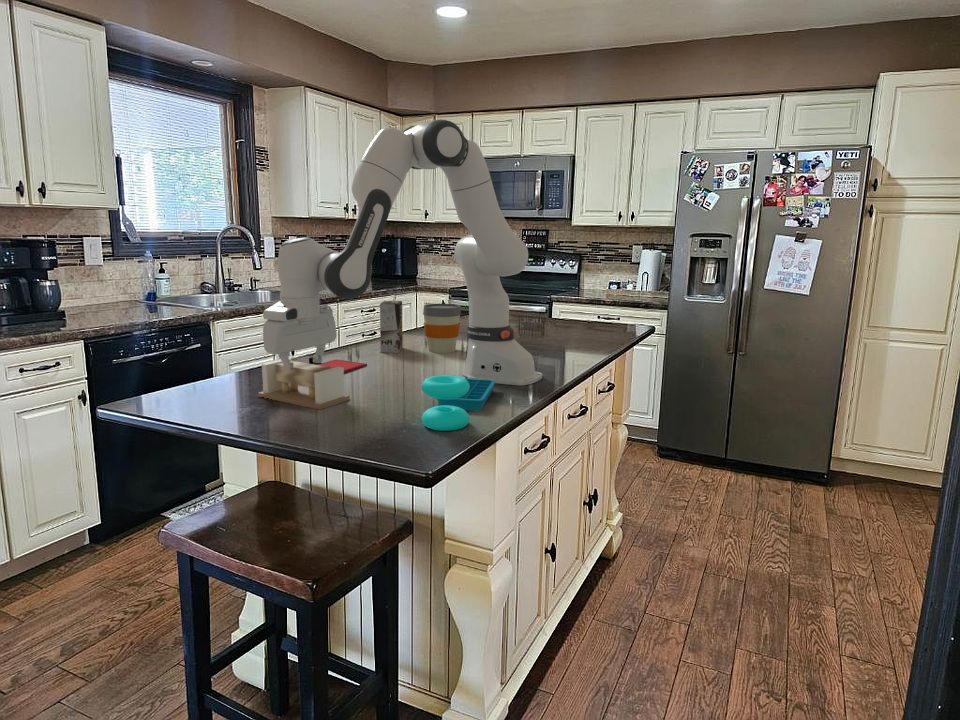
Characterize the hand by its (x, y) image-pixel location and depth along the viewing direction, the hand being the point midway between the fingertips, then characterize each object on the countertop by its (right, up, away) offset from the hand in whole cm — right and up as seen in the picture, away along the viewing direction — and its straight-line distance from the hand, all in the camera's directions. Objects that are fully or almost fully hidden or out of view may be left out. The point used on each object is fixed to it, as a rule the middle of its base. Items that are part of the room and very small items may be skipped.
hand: (303, 366), depth 152 cm
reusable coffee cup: (+29, +4, +62) cm, 68 cm away
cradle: (0, -8, +1) cm, 8 cm away
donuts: (+35, -13, -17) cm, 41 cm away
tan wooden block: (0, -4, +1) cm, 4 cm away
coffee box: (+13, +5, +61) cm, 62 cm away
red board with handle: (-4, -3, +27) cm, 27 cm away
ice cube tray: (+39, -9, +3) cm, 40 cm away
